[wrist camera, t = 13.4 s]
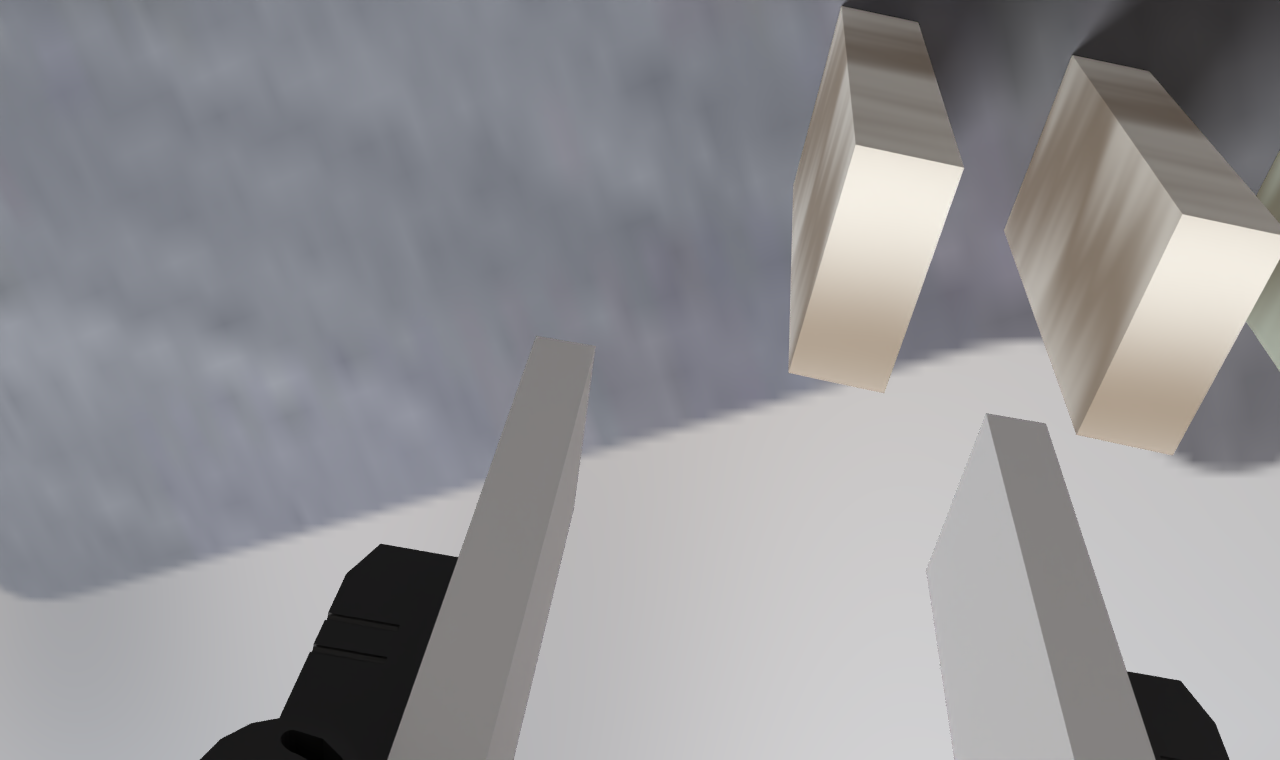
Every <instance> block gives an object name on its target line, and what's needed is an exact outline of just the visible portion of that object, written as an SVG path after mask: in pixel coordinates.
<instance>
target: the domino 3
mask: <svg viewBox="0 0 1280 760" xmlns="http://www.w3.org/2000/svg"><path fill="white" fill-rule="evenodd" d="M1256 197H1257V198H1258V199H1259V200H1260V201H1261V202H1262V204H1263V205H1264V206H1265V207H1266V208H1267V209H1268V211H1269V212H1270V213H1271V214H1272V215H1273V216H1274V218H1275V219H1276V220H1277V221H1278V222H1279V223H1280V151H1279V153H1278V155H1277V157H1276V159H1275V161H1274V162H1273V164H1272V166H1271V168H1270V170H1269V172H1268V174H1267V176H1266V178H1265V180H1264V182H1263V184H1262V186H1261V188H1260V190H1259V192H1258V194H1257V196H1256ZM1246 322H1247V323H1248V325H1249V326H1250V328H1251V329H1252V331H1253V332H1254V334H1255V335H1256V337H1257V338H1258V340H1259V341H1260V343H1261V344H1262V346H1263V347H1264V349H1265V350H1266V352H1267V353H1268V355H1269V356H1270V358H1271V359H1272V361H1273V362H1274V363H1275V365H1276V366H1277V368H1278V369H1279V371H1280V260H1279V261H1278V263H1277V265H1276V267H1275V269H1274V271H1273V272H1272V274H1271V276H1270V278H1269V280H1268V282H1267V283H1266V285H1265V287H1264V289H1263V291H1262V293H1261V294H1260V296H1259V298H1258V300H1257V302H1256V304H1255V305H1254V307H1253V309H1252V311H1251V313H1250V315H1249V316H1248V318H1247V320H1246Z"/></svg>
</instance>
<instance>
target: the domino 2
mask: <svg viewBox="0 0 1280 760" xmlns="http://www.w3.org/2000/svg"><path fill="white" fill-rule="evenodd" d="M1004 232H1005V235H1006V237H1007V240H1008V243H1009V246H1010V249H1011V251H1012V254H1013V257H1014V260H1015V263H1016V266H1017V268H1018V271H1019V274H1020V277H1021V280H1022V282H1023V285H1024V288H1025V291H1026V294H1027V296H1028V299H1029V302H1030V305H1031V308H1032V311H1033V313H1034V316H1035V319H1036V322H1037V325H1038V327H1039V330H1040V333H1041V336H1042V339H1043V342H1044V344H1045V347H1046V350H1047V353H1048V356H1049V358H1050V361H1051V364H1052V367H1053V370H1054V372H1055V375H1056V378H1057V381H1058V384H1059V387H1060V389H1061V392H1062V395H1063V398H1064V401H1065V404H1066V406H1067V409H1068V412H1069V415H1070V418H1071V420H1072V423H1073V426H1074V429H1075V432H1076V434H1077V435H1080V436H1085V437H1089V438H1095V439H1099V440H1103V441H1108V442H1113V443H1117V444H1122V445H1126V446H1131V447H1136V448H1140V449H1145V450H1150V451H1154V452H1159V453H1164V454H1168V455H1173V454H1174V452H1175V450H1176V448H1177V447H1178V445H1179V443H1180V441H1181V439H1182V437H1183V436H1184V434H1185V432H1186V430H1187V428H1188V426H1189V425H1190V423H1191V421H1192V419H1193V417H1194V415H1195V414H1196V412H1197V410H1198V408H1199V406H1200V404H1201V403H1202V401H1203V399H1204V397H1205V395H1206V393H1207V392H1208V390H1209V388H1210V386H1211V384H1212V382H1213V381H1214V379H1215V377H1216V375H1217V373H1218V371H1219V370H1220V368H1221V366H1222V364H1223V362H1224V360H1225V359H1226V357H1227V355H1228V353H1229V351H1230V349H1231V348H1232V346H1233V344H1234V342H1235V340H1236V338H1237V337H1238V335H1239V333H1240V331H1241V329H1242V327H1243V326H1244V324H1245V322H1246V320H1247V318H1248V316H1249V315H1250V313H1251V311H1252V309H1253V307H1254V305H1255V304H1256V302H1257V300H1258V298H1259V296H1260V294H1261V293H1262V291H1263V289H1264V287H1265V285H1266V283H1267V282H1268V280H1269V278H1270V276H1271V274H1272V272H1273V271H1274V269H1275V267H1276V265H1277V263H1278V261H1279V260H1280V223H1279V222H1278V221H1277V220H1276V219H1275V218H1274V216H1273V215H1272V214H1271V213H1270V212H1269V211H1268V209H1267V208H1266V207H1265V206H1264V205H1263V204H1262V202H1261V201H1260V200H1259V199H1258V198H1257V197H1256V195H1255V194H1254V193H1253V192H1252V191H1251V190H1250V188H1249V187H1248V186H1247V185H1246V184H1245V183H1244V181H1243V180H1242V179H1241V178H1240V177H1239V176H1238V174H1237V173H1236V172H1235V171H1234V170H1233V169H1232V167H1231V166H1230V165H1229V164H1228V163H1227V162H1226V160H1225V159H1224V158H1223V157H1222V156H1221V155H1220V153H1219V152H1218V151H1217V150H1216V149H1215V148H1214V146H1213V145H1212V144H1211V143H1210V142H1209V141H1208V139H1207V138H1206V137H1205V136H1204V135H1203V133H1202V132H1201V131H1200V130H1199V129H1198V128H1197V126H1196V125H1195V124H1194V123H1193V122H1192V121H1191V119H1190V118H1189V117H1188V116H1187V115H1186V114H1185V112H1184V111H1183V110H1182V109H1181V108H1180V107H1179V105H1178V104H1177V103H1176V102H1175V101H1174V100H1173V98H1172V97H1171V96H1170V95H1169V94H1168V93H1167V91H1166V90H1165V89H1164V88H1163V87H1162V86H1161V84H1160V83H1159V82H1158V81H1157V80H1156V79H1155V77H1154V76H1153V75H1152V74H1151V73H1150V72H1149V71H1146V70H1141V69H1136V68H1131V67H1127V66H1122V65H1117V64H1113V63H1108V62H1103V61H1098V60H1094V59H1089V58H1084V57H1080V56H1075V55H1072V57H1071V59H1070V62H1069V64H1068V67H1067V69H1066V72H1065V75H1064V77H1063V80H1062V82H1061V85H1060V87H1059V90H1058V93H1057V95H1056V98H1055V100H1054V103H1053V105H1052V108H1051V111H1050V113H1049V116H1048V118H1047V121H1046V124H1045V126H1044V129H1043V131H1042V134H1041V136H1040V139H1039V142H1038V144H1037V147H1036V149H1035V152H1034V154H1033V157H1032V160H1031V162H1030V165H1029V167H1028V170H1027V172H1026V175H1025V178H1024V180H1023V183H1022V185H1021V188H1020V190H1019V193H1018V196H1017V198H1016V201H1015V203H1014V206H1013V208H1012V211H1011V214H1010V216H1009V219H1008V221H1007V224H1006V227H1005V229H1004Z"/></svg>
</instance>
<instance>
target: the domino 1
mask: <svg viewBox="0 0 1280 760" xmlns="http://www.w3.org/2000/svg"><path fill="white" fill-rule="evenodd" d="M963 169H964V166H963V163H962V160H961V157H960V153H959V150H958V147H957V144H956V141H955V137H954V134H953V131H952V128H951V125H950V122H949V118H948V115H947V112H946V109H945V106H944V103H943V99H942V96H941V93H940V90H939V87H938V83H937V80H936V77H935V74H934V71H933V68H932V64H931V61H930V58H929V55H928V52H927V49H926V45H925V42H924V39H923V36H922V33H921V29H920V26H919V23H918V22H915V21H910V20H905V19H901V18H896V17H891V16H886V15H882V14H877V13H872V12H868V11H863V10H858V9H854V8H849V7H844V6H841V10H840V13H839V17H838V21H837V24H836V28H835V32H834V36H833V39H832V43H831V47H830V51H829V54H828V58H827V62H826V65H825V69H824V73H823V77H822V80H821V84H820V88H819V92H818V95H817V99H816V103H815V107H814V110H813V114H812V118H811V121H810V125H809V129H808V133H807V136H806V140H805V144H804V148H803V151H802V155H801V159H800V162H799V166H798V170H797V174H796V177H795V181H794V185H793V220H792V258H791V296H790V335H789V373H792V374H797V375H802V376H806V377H811V378H816V379H820V380H825V381H830V382H834V383H839V384H843V385H848V386H853V387H857V388H862V389H867V390H871V391H876V392H881V393H884V392H885V389H886V386H887V384H888V381H889V378H890V375H891V372H892V370H893V367H894V364H895V361H896V358H897V355H898V353H899V350H900V347H901V344H902V341H903V338H904V336H905V333H906V330H907V327H908V324H909V322H910V319H911V316H912V313H913V310H914V307H915V305H916V302H917V299H918V296H919V293H920V291H921V288H922V285H923V282H924V279H925V276H926V274H927V271H928V268H929V265H930V262H931V260H932V257H933V254H934V251H935V248H936V245H937V243H938V240H939V237H940V234H941V231H942V229H943V226H944V223H945V220H946V217H947V214H948V212H949V209H950V206H951V203H952V200H953V198H954V195H955V192H956V189H957V186H958V183H959V181H960V178H961V175H962V172H963Z"/></svg>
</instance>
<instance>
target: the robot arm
mask: <svg viewBox="0 0 1280 760" xmlns="http://www.w3.org/2000/svg"><path fill="white" fill-rule="evenodd" d="M594 353H595V346H592V345H586V344H580V343H574V342H568V341H563V340H557V339H551V338H545V337H539V336H536V338H535V341H534V344H533V347H532V350H531V352H530V355H529V358H528V361H527V364H526V367H525V369H524V372H523V375H522V378H521V381H520V384H519V387H518V389H517V392H516V395H515V398H514V401H513V404H512V406H511V409H510V412H509V415H508V418H507V421H506V424H505V426H504V429H503V432H502V435H501V438H500V441H499V443H498V446H497V449H496V452H495V455H494V458H493V461H492V463H491V466H490V469H489V472H488V475H487V478H486V480H485V483H484V486H483V489H482V492H481V495H480V498H479V500H478V503H477V506H476V509H475V512H474V515H473V518H472V521H471V523H470V526H469V529H468V532H467V535H466V537H465V540H464V543H463V546H462V549H461V552H460V554H459V557H453V556H448V555H442V554H436V553H430V552H425V551H419V550H413V549H407V548H402V547H396V546H390V545H384V544H380V545H379V546H378V547H376V548H375V549H374V550H373V551H372V552H371V553H370V554H368V555H367V556H366V557H365V558H364V559H363V560H362V561H361V562H360V563H358V564H357V565H356V566H355V567H354V568H352V569H351V570H350V571H349V572H348V573H347V574H346V576H345V578H344V580H343V582H342V584H341V587H340V588H339V591H338V593H337V595H336V597H335V599H334V601H333V604H332V606H331V608H330V610H329V612H328V618H327V620H325V621H324V623H323V625H322V627H321V630H320V632H319V634H318V636H317V638H316V640H315V643H314V647H313V651H312V652H310V653H309V655H308V658H307V660H306V662H305V664H304V666H303V668H302V670H301V673H300V675H299V677H298V679H297V681H296V683H295V686H294V688H293V690H292V692H291V694H290V696H289V698H288V701H287V703H286V705H285V707H284V710H283V711H282V714H281V716H280V718H278V719H273V720H267V721H261V722H256V723H251V724H249V725H247V726H245V727H243V728H241V729H239V730H237V731H236V732H234V733H232V734H230V735H228V736H226V737H224V738H222V739H220V740H219V741H218V742H217V743H216V744H215V745H214V747H212V748H211V749H210V750H209V751H208V752H207V753H206V754H205V755H204V756H203V757H202V759H200V760H514V756H515V752H516V748H517V743H518V739H519V735H520V731H521V726H522V722H523V718H524V714H525V710H526V706H527V702H528V698H529V693H530V689H531V685H532V681H533V676H534V673H535V668H536V664H537V660H538V656H539V651H540V648H541V643H542V639H543V635H544V631H545V626H546V622H547V618H548V614H549V610H550V605H551V601H552V598H553V593H554V589H555V585H556V581H557V577H558V573H559V568H560V564H561V560H562V556H563V551H564V548H565V543H566V539H567V535H568V531H569V527H570V523H571V518H572V514H573V510H574V503H575V496H576V488H577V481H578V472H579V466H580V458H581V451H582V443H583V436H584V428H585V421H586V413H587V406H588V398H589V390H590V383H591V375H592V368H593V360H594ZM926 571H927V579H928V585H929V592H930V599H931V605H932V612H933V619H934V626H935V632H936V639H937V646H938V652H939V659H940V666H941V672H942V679H943V686H944V693H945V700H946V706H947V712H948V720H949V726H950V733H951V740H952V746H953V753H954V759H955V760H1229V757H1228V755H1227V752H1226V750H1225V747H1224V745H1223V742H1222V739H1221V737H1220V734H1219V732H1218V729H1217V726H1216V724H1215V722H1214V721H1213V720H1212V719H1211V718H1210V717H1209V715H1208V714H1207V713H1206V711H1205V710H1204V709H1203V708H1202V706H1201V705H1200V704H1199V703H1198V702H1197V700H1196V699H1195V698H1194V697H1193V695H1192V694H1191V693H1190V692H1189V691H1188V689H1187V688H1186V687H1185V686H1184V684H1183V683H1182V682H1181V681H1179V680H1173V679H1167V678H1162V677H1156V676H1150V675H1144V674H1139V673H1133V672H1127V671H1126V668H1125V665H1124V662H1123V659H1122V656H1121V653H1120V650H1119V646H1118V643H1117V640H1116V637H1115V634H1114V631H1113V628H1112V625H1111V622H1110V619H1109V616H1108V612H1107V609H1106V607H1105V603H1104V600H1103V597H1102V594H1101V591H1100V588H1099V585H1098V582H1097V579H1096V576H1095V573H1094V570H1093V567H1092V564H1091V560H1090V557H1089V555H1088V551H1087V548H1086V545H1085V542H1084V539H1083V536H1082V533H1081V530H1080V527H1079V524H1078V521H1077V518H1076V514H1075V511H1074V508H1073V505H1072V502H1071V499H1070V497H1069V493H1068V490H1067V487H1066V484H1065V481H1064V478H1063V475H1062V472H1061V469H1060V465H1059V462H1058V459H1057V456H1056V453H1055V450H1054V447H1053V444H1052V441H1051V438H1050V435H1049V432H1048V429H1047V426H1046V424H1044V423H1039V422H1034V421H1027V420H1022V419H1016V418H1010V417H1004V416H999V415H992V414H986V415H985V417H984V420H983V423H982V425H981V428H980V431H979V433H978V436H977V438H976V441H975V444H974V447H973V449H972V452H971V454H970V457H969V459H968V462H967V465H966V467H965V470H964V473H963V475H962V478H961V480H960V483H959V486H958V488H957V491H956V494H955V496H954V499H953V501H952V504H951V507H950V509H949V512H948V514H947V517H946V520H945V523H944V525H943V527H942V530H941V533H940V535H939V538H938V541H937V543H936V546H935V548H934V551H933V554H932V556H931V559H930V562H929V564H928V567H927V569H926Z"/></svg>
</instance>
